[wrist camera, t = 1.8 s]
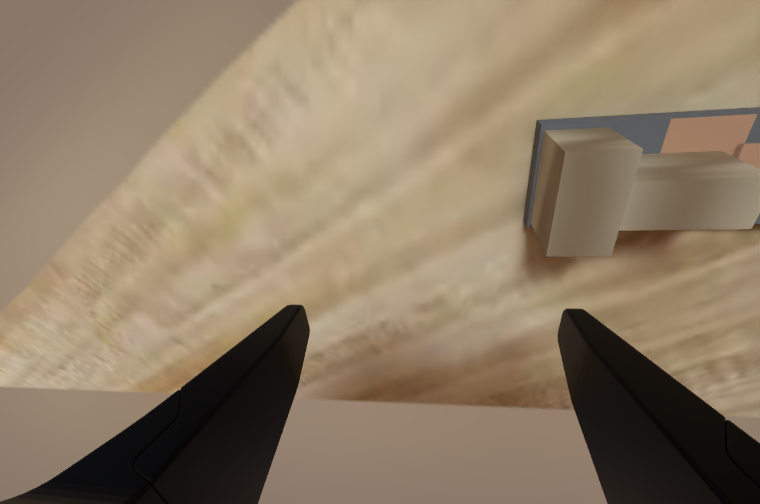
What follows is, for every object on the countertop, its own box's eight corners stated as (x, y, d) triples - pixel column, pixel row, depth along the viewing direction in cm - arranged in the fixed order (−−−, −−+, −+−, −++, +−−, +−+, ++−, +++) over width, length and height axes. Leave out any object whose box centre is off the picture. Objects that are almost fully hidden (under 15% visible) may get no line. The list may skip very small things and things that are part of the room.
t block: (733, 120, 14) (796, 142, 12) (692, 220, 17) (737, 256, 14) (544, 130, 15) (565, 152, 13) (530, 222, 18) (546, 256, 15)
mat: (890, 99, 14) (912, 104, 13) (819, 214, 16) (835, 223, 16) (537, 120, 16) (541, 124, 15) (523, 219, 18) (526, 227, 18)
